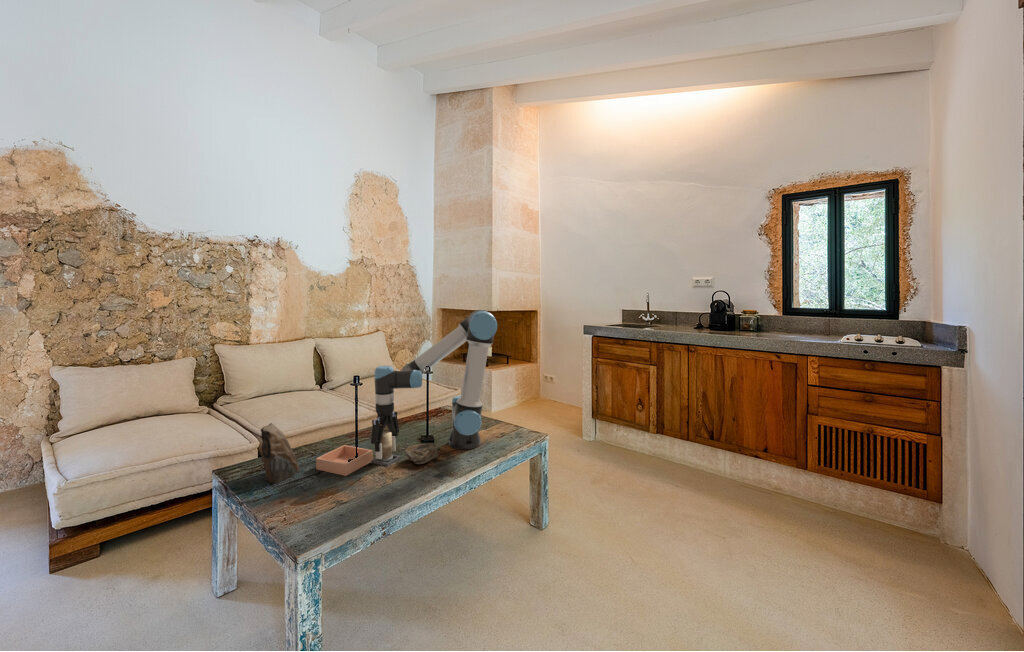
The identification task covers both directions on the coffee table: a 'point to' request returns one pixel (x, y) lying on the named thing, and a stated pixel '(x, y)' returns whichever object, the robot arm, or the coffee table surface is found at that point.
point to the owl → (277, 455)
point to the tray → (344, 460)
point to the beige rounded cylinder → (386, 447)
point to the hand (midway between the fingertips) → (386, 454)
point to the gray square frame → (385, 462)
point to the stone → (422, 453)
